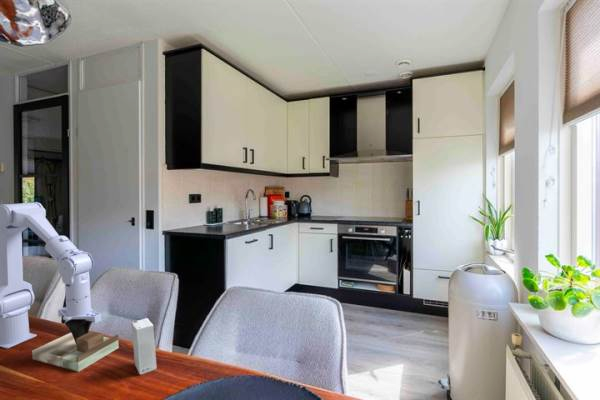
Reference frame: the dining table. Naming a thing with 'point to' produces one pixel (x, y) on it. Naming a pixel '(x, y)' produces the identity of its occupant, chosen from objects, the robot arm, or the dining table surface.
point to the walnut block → (89, 341)
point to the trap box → (73, 352)
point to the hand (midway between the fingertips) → (81, 343)
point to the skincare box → (144, 345)
